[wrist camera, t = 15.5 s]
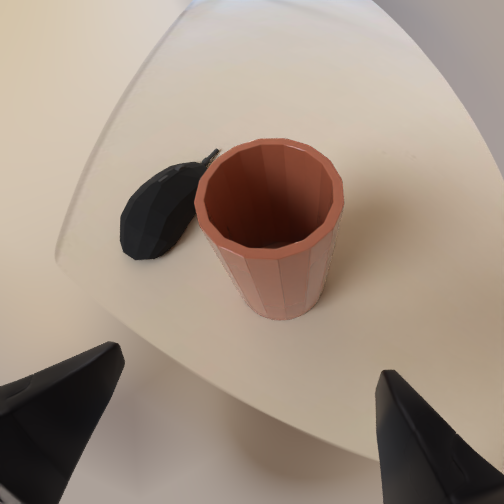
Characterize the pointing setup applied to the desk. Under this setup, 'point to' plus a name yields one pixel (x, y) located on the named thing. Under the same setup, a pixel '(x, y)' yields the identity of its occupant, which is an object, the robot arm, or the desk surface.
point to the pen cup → (272, 222)
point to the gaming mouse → (161, 210)
